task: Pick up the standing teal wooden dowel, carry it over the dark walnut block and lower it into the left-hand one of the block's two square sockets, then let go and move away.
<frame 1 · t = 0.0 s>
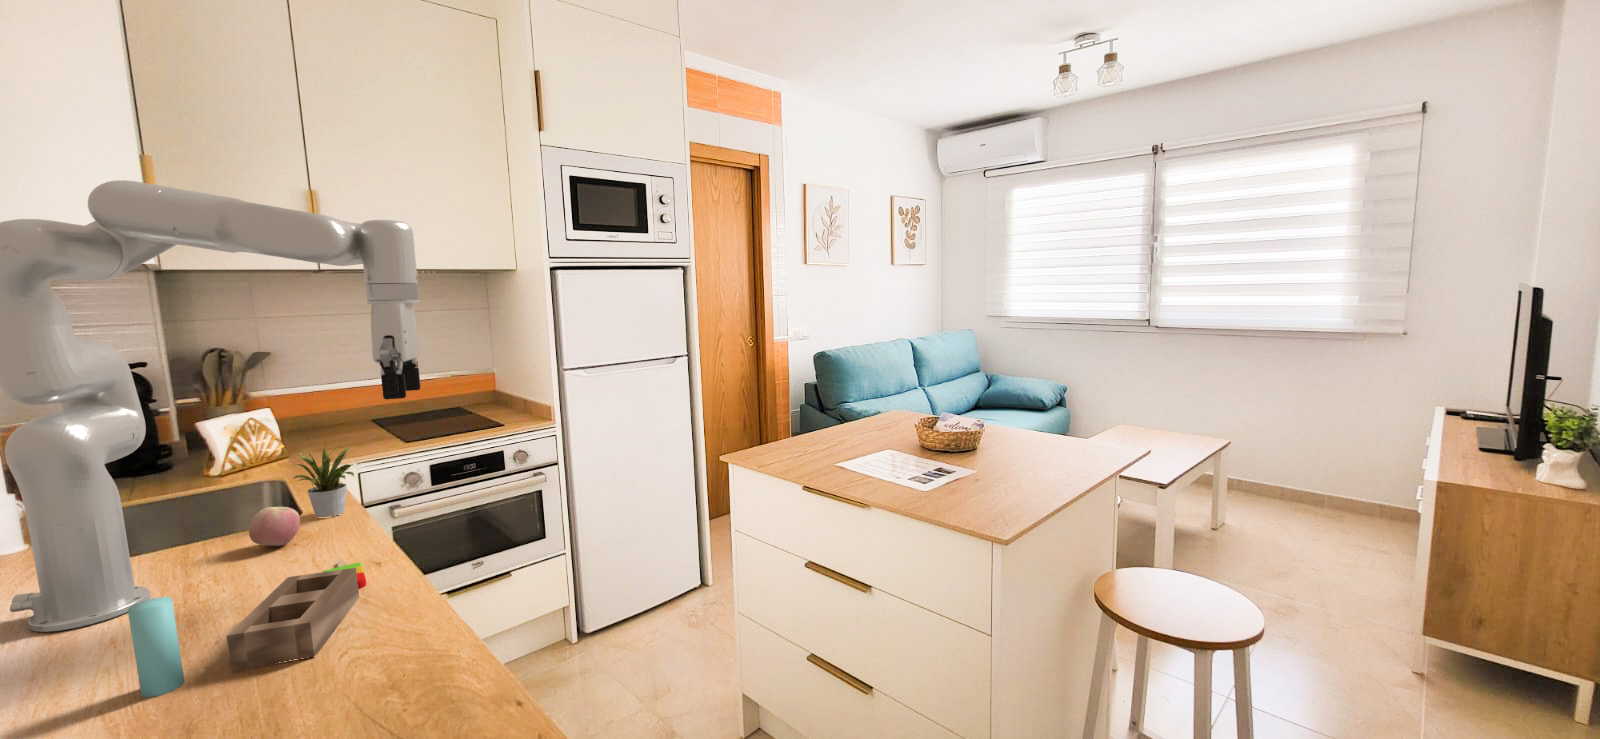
hand: (403, 394, 109), 31 cm above the table, tool pointing down, fingers open, 9 cm apart
house plant: (323, 517, 140), on the table
apple: (277, 547, 123), on the table
dowel: (163, 687, 78), on the table
socket block: (302, 630, 91), on the table
popsicle: (344, 580, 109), on the table
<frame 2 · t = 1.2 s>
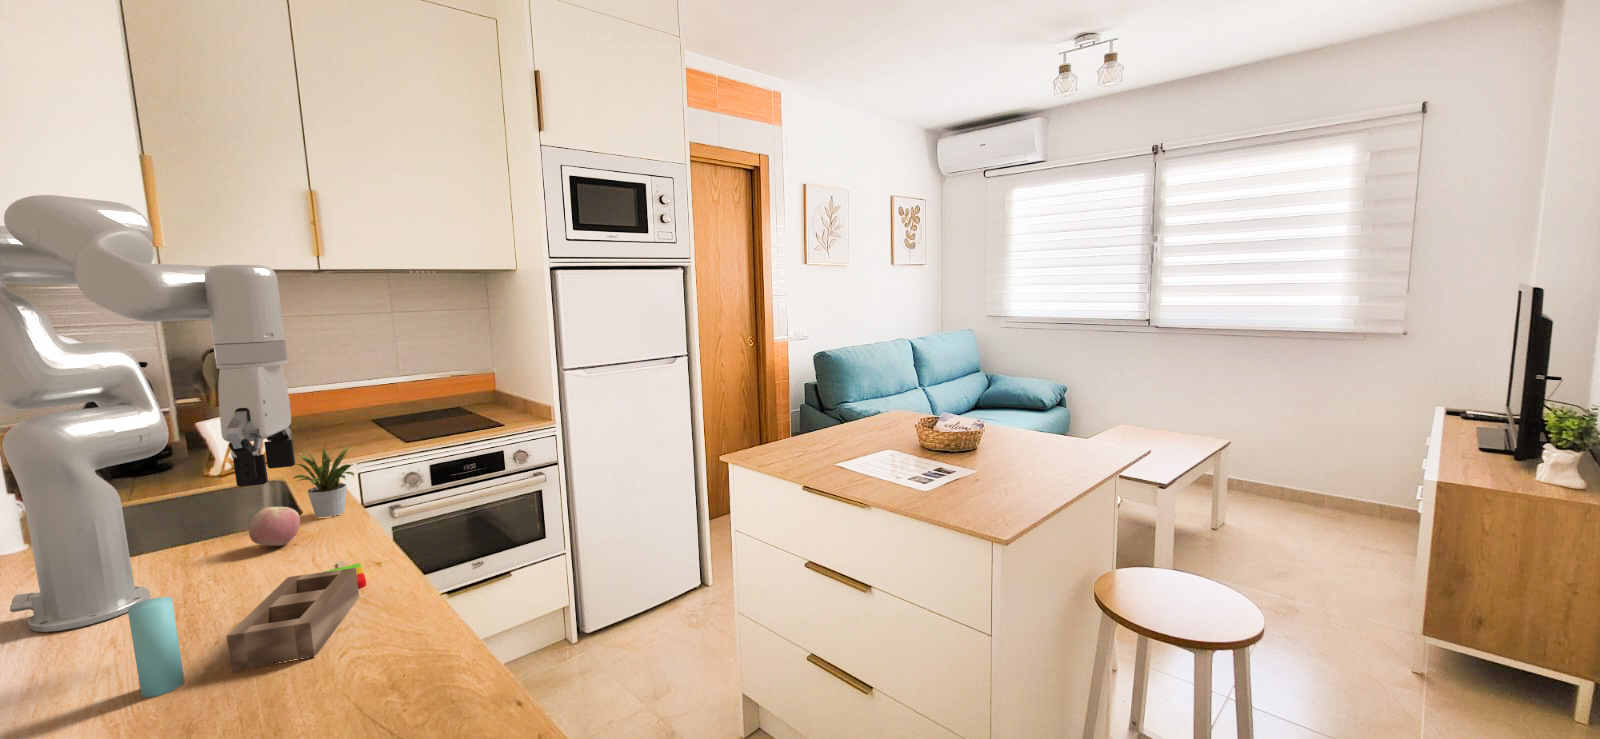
hand: (268, 475, 89), 23 cm above the table, tool pointing down, fingers open, 9 cm apart
nothing on the table moved.
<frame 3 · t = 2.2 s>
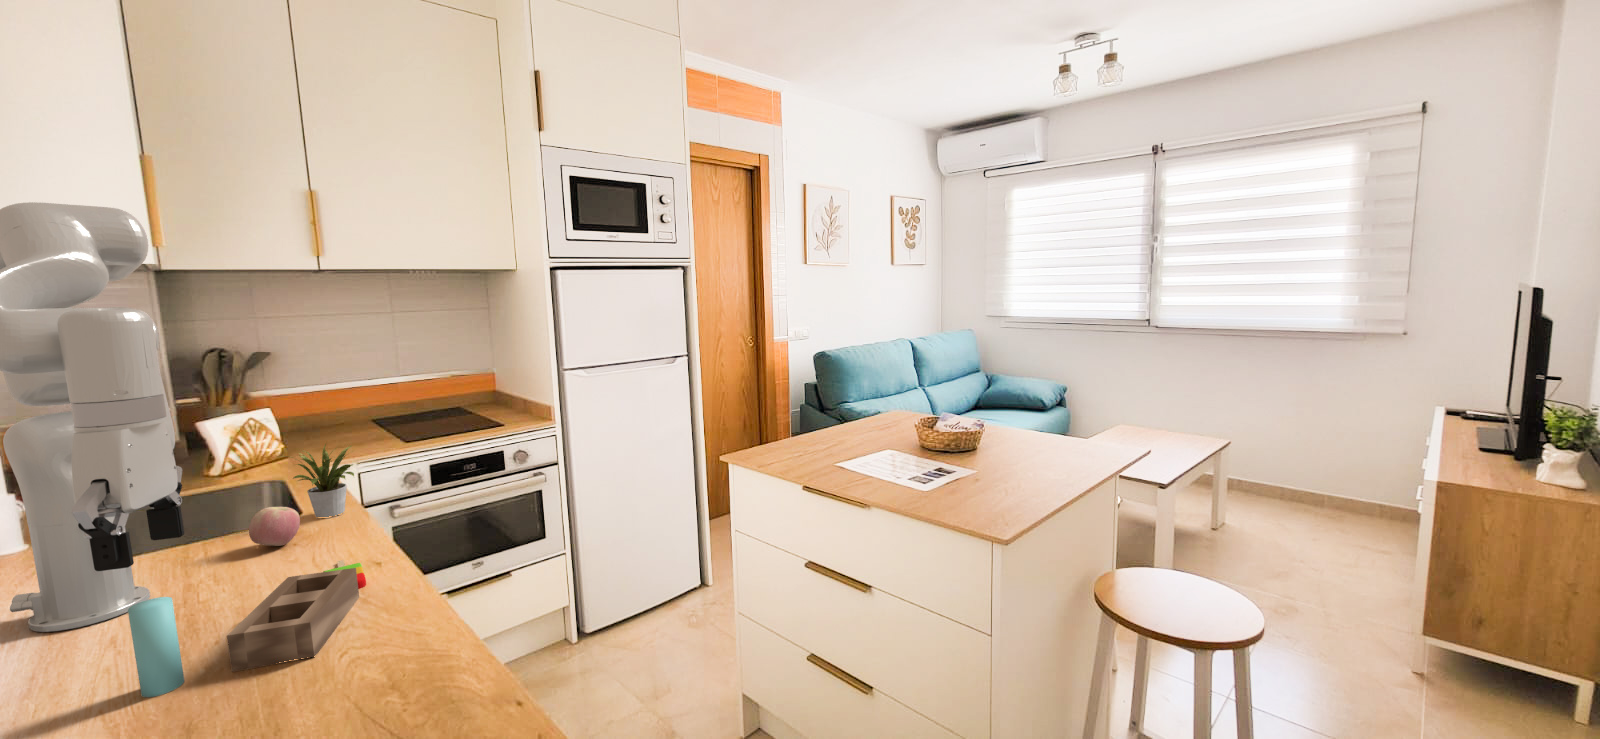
hand: (142, 552, 76), 18 cm above the table, tool pointing down, fingers open, 9 cm apart
nothing on the table moved.
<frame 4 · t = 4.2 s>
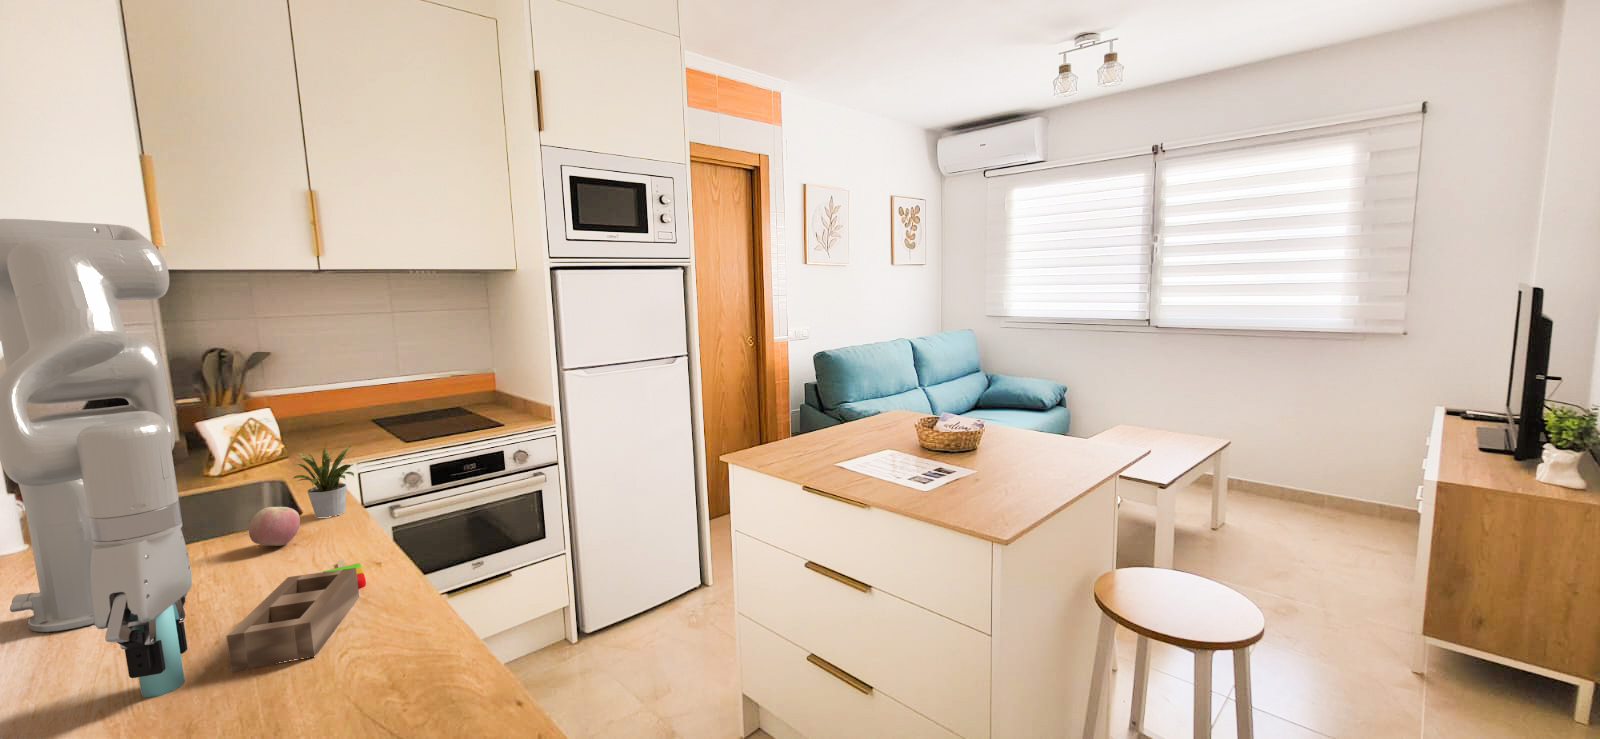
hand: (159, 662, 78), 3 cm above the table, tool pointing down, fingers closed on dowel, 3 cm apart
dowel: (163, 687, 78), on the table, touching gripper
everything else where it was.
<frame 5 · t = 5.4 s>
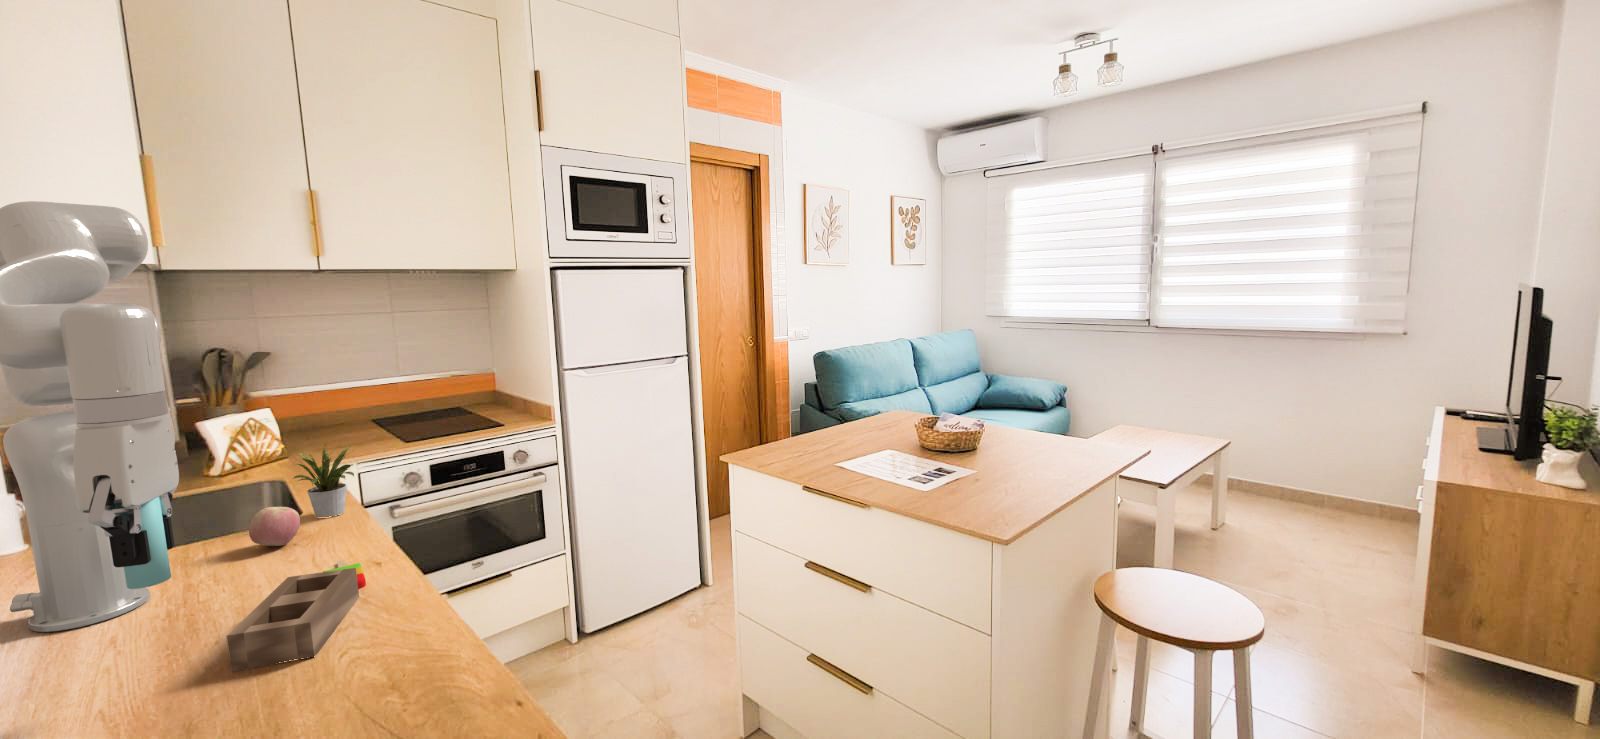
hand: (145, 555, 77), 17 cm above the table, tool pointing down, fingers closed on dowel, 3 cm apart
dowel: (149, 581, 77), point 14 cm above the table, touching gripper
everything else where it was.
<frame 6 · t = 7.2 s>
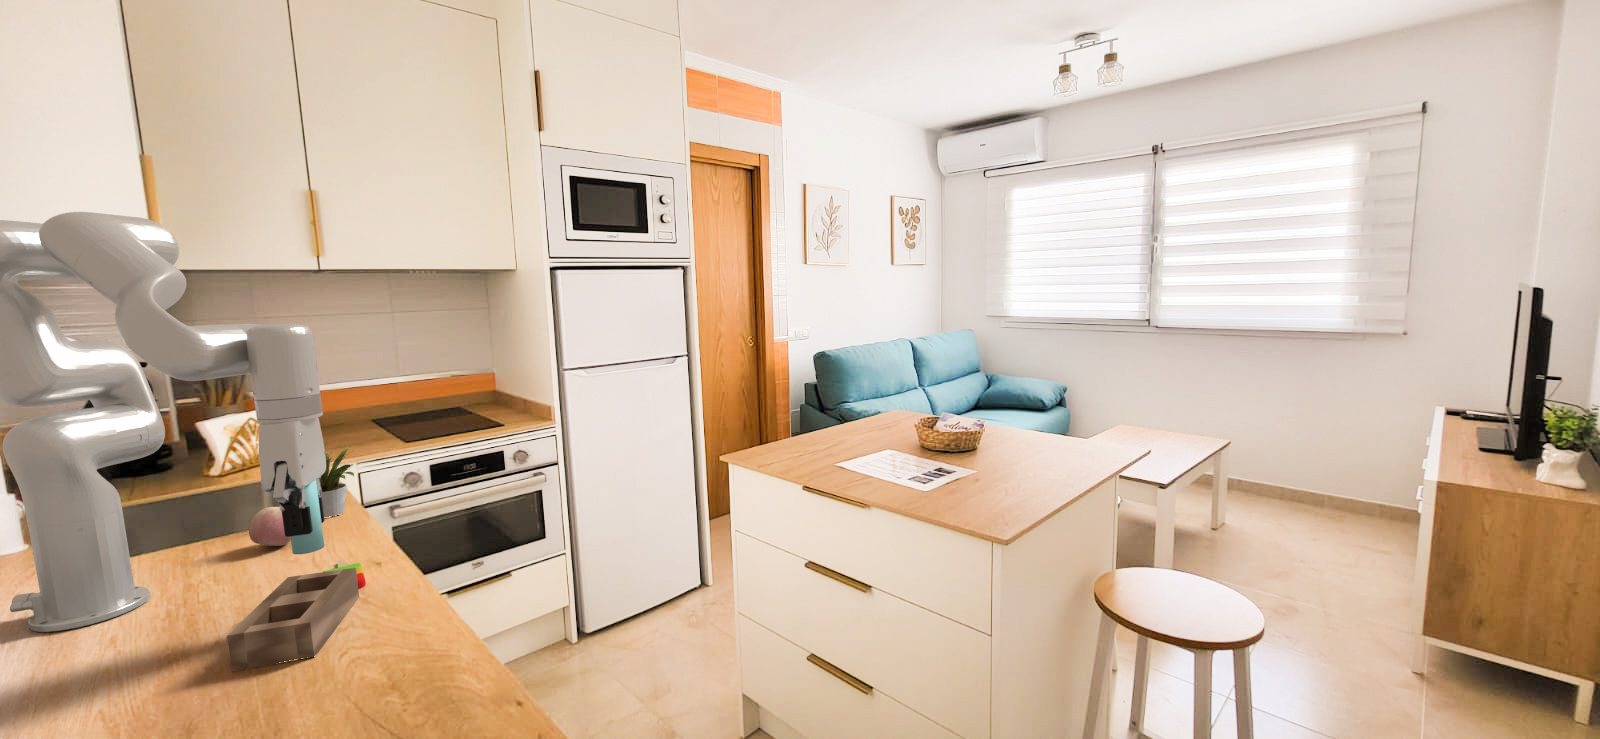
hand: (305, 528, 94), 14 cm above the table, tool pointing down, fingers closed on dowel, 3 cm apart
dowel: (308, 549, 94), point 11 cm above the table, touching gripper
everything else where it was.
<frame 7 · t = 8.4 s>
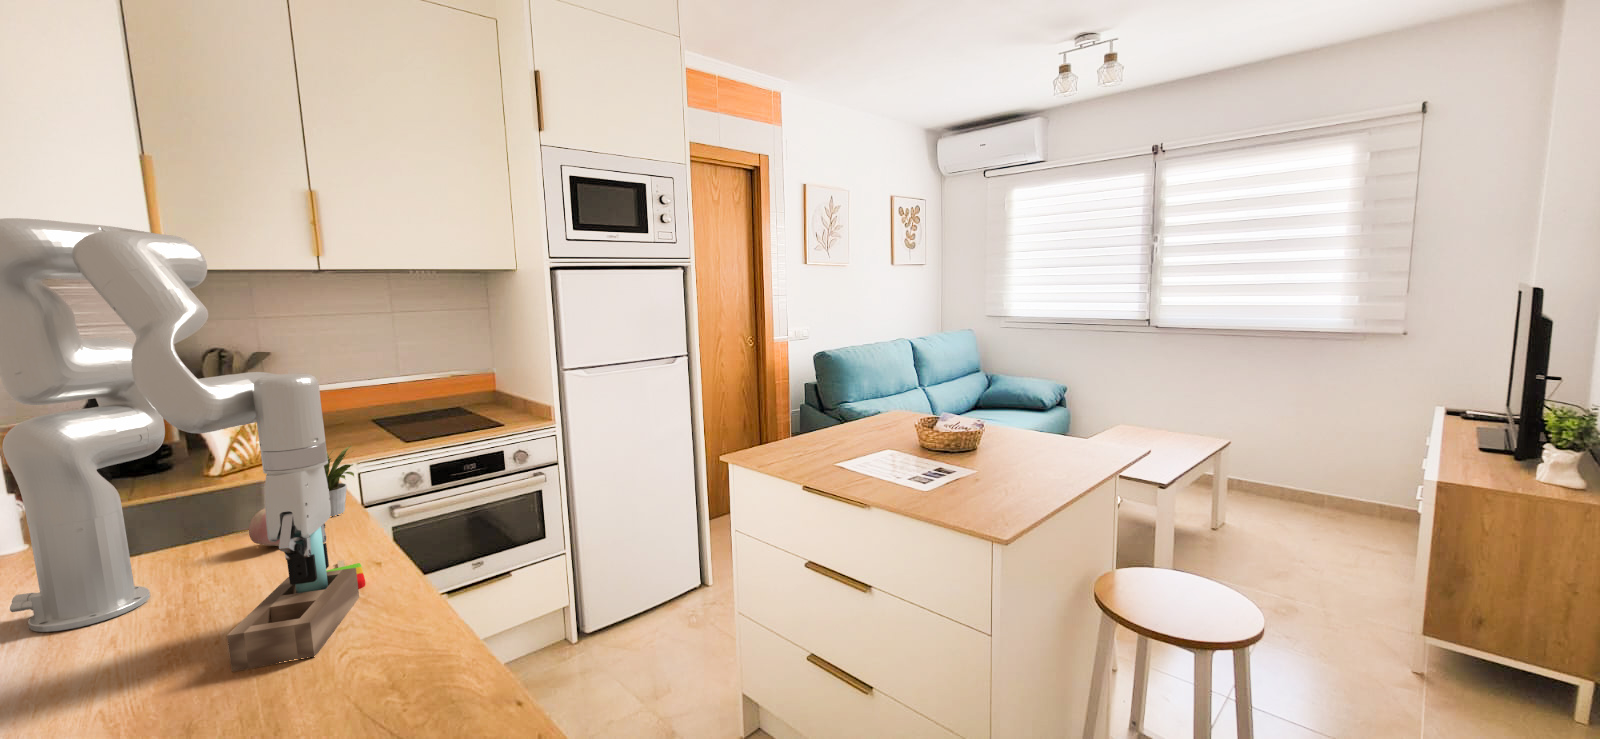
hand: (310, 574, 95), 7 cm above the table, tool pointing down, fingers closed on dowel, 3 cm apart
dowel: (313, 595, 95), point 3 cm above the table, touching gripper
everything else where it was.
when the fingers open (6 cm above the table, at t = 8.7 s): dowel drops 3 cm, resting in socket block.
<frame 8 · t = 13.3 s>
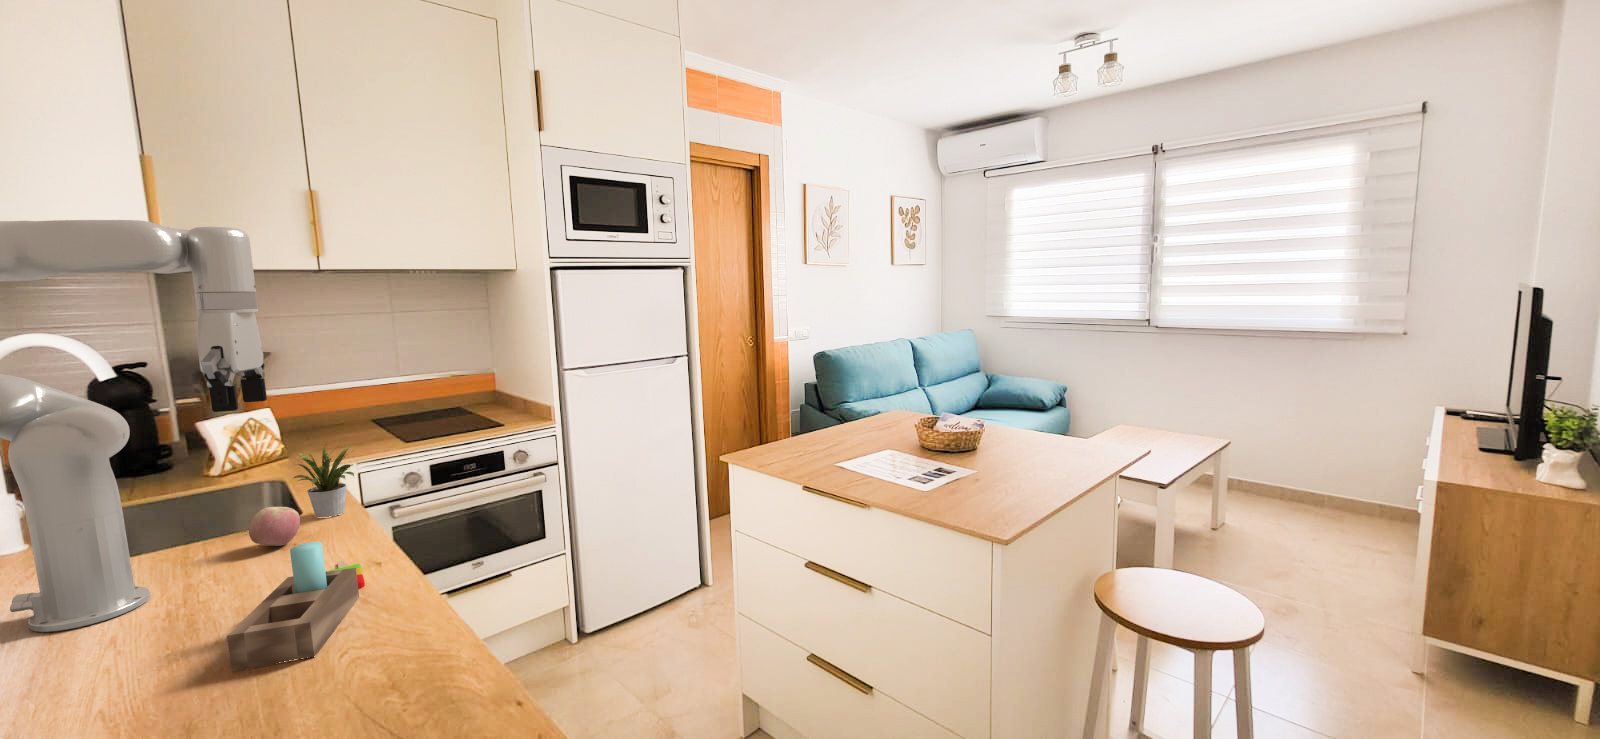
hand: (241, 406, 106), 30 cm above the table, tool pointing down, fingers open, 9 cm apart
dowel: (314, 615, 96), resting in socket block
everything else where it was.
at the end: dowel 0.0 cm from the target spot on the socket block, point 0.0 cm above the socket block's base; dowel tilted 0°; the gripper is holding nothing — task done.
